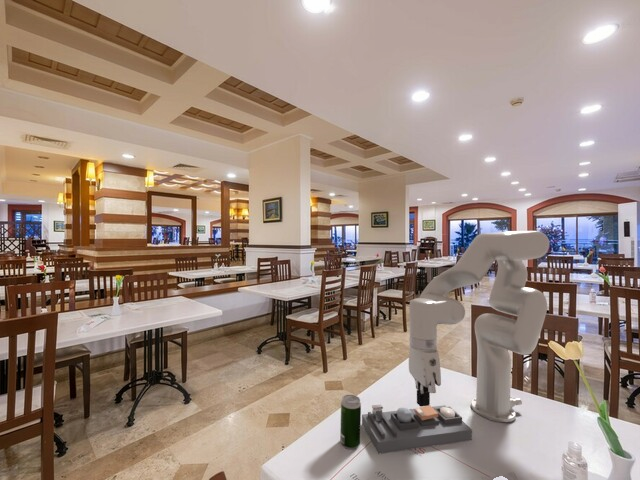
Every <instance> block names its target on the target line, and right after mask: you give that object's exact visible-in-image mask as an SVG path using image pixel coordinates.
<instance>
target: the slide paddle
mask: <svg viewBox="0 0 640 480" xmlns="http://www.w3.org/2000/svg"><path fill="white" fill-rule="evenodd" d="M371 408H372V412H371V413H372V415H373V417H374V418H375V420H376V421H382V412H383V409H384V406H383V405H382V404H375V405H371Z"/></svg>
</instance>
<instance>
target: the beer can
mask: <svg viewBox="0 0 640 480" xmlns="http://www.w3.org/2000/svg"><path fill="white" fill-rule="evenodd" d="M361 409H362V402H361V399H360V397H359V396H357V395H356V394H355V395H354V394H345V395H343V396H342V399H341V402H340V428H339V430H340V434H339V435H340V437H339V438H340V439H339V441H340V444H341V446H342V448H344V449H346V450H350V451H353V450H356V449H357V448H359V446H360V444H361V425H362V410H361Z"/></svg>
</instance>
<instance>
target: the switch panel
mask: <svg viewBox="0 0 640 480" xmlns="http://www.w3.org/2000/svg"><path fill="white" fill-rule="evenodd" d="M431 407H432V408H433V409H434V410H435V411H436V412H437V413H438V417H435V418H431V419H426V420H421V419H420V417H419V416H418V415H417V414H416V413H415V410H414V409H415V408H410V409H409V408H408V409H409V410H410V411H411V412H412V421H411V422H410V423H403V422H400V421H399V420H398V419H397V410H393V411H392V410H391V411H384V412H383V411H382V421H376V420H375V418H374V417H373V415H372V412H371V411H369V412H368V411H367V413H364V414H361V425H362V427H363V429H364V431H365V433H366V435H367V436H368V438H369V440H370V442H371V443H372V445H373V448H375V451H376V452H377V454H378V455H379V454H387V453H393V452H401V451H406V450H407V451H408V450H415V449H421V448H429V447H436V446H441V445H442V446H443V445H449V444H455V443H462V442H469V441H470V442H471V441H472V440H473V429H472V428H471V427H470V426H469V425H468V424H467V423H466V422H464V421H463V417H462V416H461V415H460V414H459V413H458V412H456V411H455V417H453V418H445V417H444V416H442V415H441V414H440V408H442V407H448V408H451V409H452V410H454V409H453V408H452V407H451V406H446V405H435V406H431Z"/></svg>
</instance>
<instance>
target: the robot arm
mask: <svg viewBox="0 0 640 480" xmlns="http://www.w3.org/2000/svg"><path fill="white" fill-rule="evenodd" d="M549 249H550V239H549V237H548V236H547V234H545V233H544V232H542V231H540V230H507V231H499V232H483V233H480V234H478V235H476V236H475V237H474V238H473V240H471V243H470V244H469V245H468V247H467V248H466V250H465V251H464V253H463V254H462V255H461V257H460V258H459V259H458V261H457V262H456V264H455V265H453V266H452V267H450V268H447V270H445V271H443V272H441V273H440V274H438V275H437V276H435V277H433V278H432V279H431V281H430V282H429V283H428V284H427V285H426V287H425V288H424V289H423V291H422V292H421V294H420V295H419V297H417V298H413V299H411V300H410V302H409V306H408V307H409V308H408V309H409V313H408V314H409V315H408V316H409V318H408V319H409V321H408V323H409V324H408V326H409V350H408V370H409V374H410V375H411V377H412V378H413V379H414V383H415V384H414V385H415V389H416V404H417V405H418V406H419V408H420V407H425V406H429V405H430V404H431V403H430V399H431V397H430V395H431V394H436V393H437V390H436V389H437V388H436V386H438V387H440V386H441V385H442V375H441V374H442V373H441V361H440V355H439V351H438V350H437V349H438V336H437V335H438V329H437V328H438V325H447V326H449V325H450V326H451V325H457V324H459V323H460V322H462V321H463V320H464V319H465V315H466V308H465V307H464V304H462V303H461V301H459V300H457V299H456V298H452V297H448V296H446V295H447V294H448V293H450V292H451V291H454V290H456V289H459V288H464V287H469V286H472V285H475V284H478V283H480V282H481V281H482V280H483V279H484V278H485V276H486V274H487V273H488V271H489V270H490V268H491V267H492V266H493V264H494V262H495V261H496V262H497V272H496V276H495V279H494V281H493V285H492V288H491V291H490V294H489V299H488V303H489V305H490V308H492V309H493V310H496V311H497V312H501V313H504V314H507V315H511V316H515V317H517V319H513V318H510V317H507V316H503V315H500V314H495V313H490V312H489V313H487V312H486V313H482V314H480V315H479V316H478V317H476V319H475V321H474V334H475V339H476V340H475V341H476V346H477V347H476V348H477V349H476V350H477V357H476V358H477V360H476V395H475V397H474V398H472V399H471V401H470V407H471V408H472V410H473V411H474V412H475V413H476V414H478V415H479V416H482V417H483V418H485V419H487V420H490V421H494V422H499V423H511V422H513V421H515V419H516V416H517V415H516V414H517V413H516V412H515V410H514V409H513V407H515V406H522V404H523V401H522V399H521V398H519V397H517V398H512V396H511V383H512V382H511V380H512V376H511V375H512V373H511V372H512V360H511V356H510V353H509V352H514V353H515V354H519V355H524V356H525V355H527V356H528V355H529V354H531V353H533V352H534V350H535V349H536V347H537V344H538V342H539V339H540V337H541V332H542V330H543V325H544V322H545V319H546V316H547V311H548V300H547V297H546V295H545V294H544V293H543V292H542V291H540V290H538V289H536V288H532V287H526V283H527V280H528V273H529V272H528V270H527V267H526V266H525V264H524V263H523V261H528V260H534V259H535V260H536V259H540V258H542V257H544V256H545V255H546V254H547V253H548V251H549ZM430 406H431V405H430Z"/></svg>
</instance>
